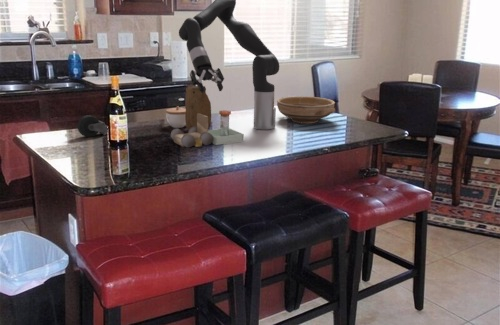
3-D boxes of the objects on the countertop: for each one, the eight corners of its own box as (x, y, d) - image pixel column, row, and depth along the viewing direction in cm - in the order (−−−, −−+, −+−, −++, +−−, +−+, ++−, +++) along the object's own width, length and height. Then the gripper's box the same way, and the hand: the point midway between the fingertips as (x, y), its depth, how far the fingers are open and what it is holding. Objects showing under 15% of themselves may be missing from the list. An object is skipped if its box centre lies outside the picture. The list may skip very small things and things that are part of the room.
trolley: (199, 137, 217) (198, 112, 213) (213, 144, 205) (213, 117, 202) (170, 140, 210) (170, 114, 207) (183, 148, 199) (183, 120, 196)
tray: (228, 134, 222) (228, 127, 221) (243, 141, 211) (243, 134, 210) (201, 138, 216) (201, 131, 215) (215, 144, 205) (215, 137, 204)
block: (190, 133, 224) (189, 87, 218) (184, 129, 230) (183, 85, 225) (212, 131, 229) (212, 86, 223) (206, 127, 235) (206, 84, 229)
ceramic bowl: (352, 124, 247) (354, 104, 244) (308, 131, 231) (309, 109, 228) (302, 112, 275) (302, 93, 273) (260, 117, 259) (260, 98, 256)
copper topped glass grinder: (226, 135, 218) (227, 110, 215) (232, 137, 214) (233, 112, 211) (216, 136, 216) (217, 110, 213) (222, 138, 212) (223, 112, 209)
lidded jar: (191, 124, 242) (190, 104, 239) (187, 129, 232) (187, 108, 229) (168, 123, 242) (168, 104, 240) (164, 128, 232) (163, 108, 229)
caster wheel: (83, 141, 211) (116, 133, 220) (79, 119, 208) (112, 111, 217) (77, 139, 215) (110, 130, 224) (73, 117, 212) (106, 109, 221)
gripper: (212, 64, 227) (224, 94, 222) (182, 65, 220) (194, 97, 214) (217, 53, 221) (230, 84, 215) (187, 55, 214) (199, 87, 208)
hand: (212, 91), depth 215 cm, fingers open, 8 cm apart
